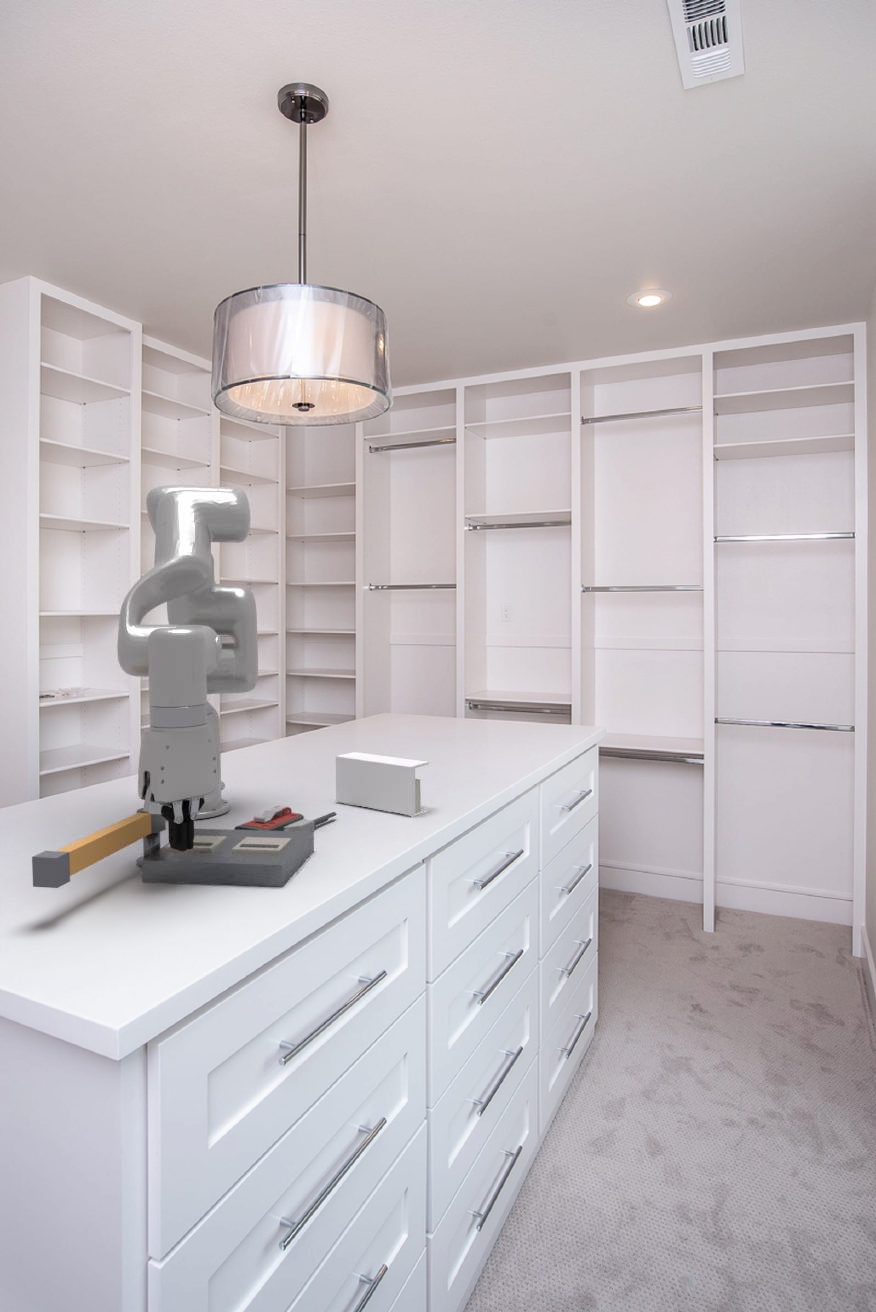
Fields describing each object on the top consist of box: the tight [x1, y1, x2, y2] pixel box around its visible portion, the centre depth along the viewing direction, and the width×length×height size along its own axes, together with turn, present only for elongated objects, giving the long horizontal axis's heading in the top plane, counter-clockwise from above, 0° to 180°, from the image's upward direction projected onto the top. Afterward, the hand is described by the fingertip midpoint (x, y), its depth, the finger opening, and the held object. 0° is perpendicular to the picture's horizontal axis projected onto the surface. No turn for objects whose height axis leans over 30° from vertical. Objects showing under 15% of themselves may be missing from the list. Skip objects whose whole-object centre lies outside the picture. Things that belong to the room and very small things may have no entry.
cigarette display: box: [335, 751, 430, 817], centre depth 148 cm, size 20×6×9 cm, turn 54°
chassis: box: [141, 828, 315, 888], centre depth 114 cm, size 16×20×4 cm
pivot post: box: [135, 832, 161, 868], centre depth 115 cm, size 4×4×4 cm
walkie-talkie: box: [233, 805, 337, 832], centre depth 132 cm, size 9×4×20 cm
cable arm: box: [31, 807, 167, 889], centre depth 104 cm, size 26×4×4 cm, turn 170°
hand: (181, 848), depth 107 cm, fingers closed
